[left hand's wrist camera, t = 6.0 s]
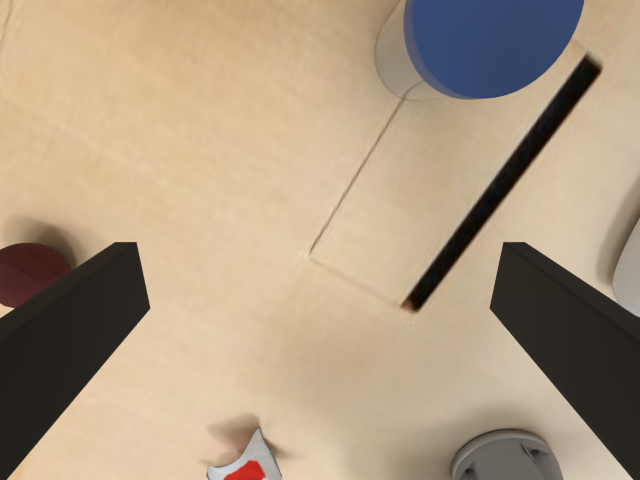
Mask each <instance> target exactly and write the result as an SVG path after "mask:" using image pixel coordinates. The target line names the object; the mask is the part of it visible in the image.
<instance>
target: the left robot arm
mask: <svg viewBox="0 0 640 480" xmlns="http://www.w3.org/2000/svg"><path fill="white" fill-rule="evenodd" d="M149 309H150V304H149V299H148V295H147V290H146V285H145V280H144V276H143V271H142V266H141V261H140V257H139V252H138V247H137V242H115V243H113V244H112V245H110V246H109V247H107V248H106V249H104V250H103V251H101V252H100V253H98V254H97V255H95V256H94V257H92V258H91V259H89V260H87V261H86V262H84V263H83V264H81V265H80V266H78V267H77V268H75V269H74V270H72V271H71V272H69V273H68V274H66V275H65V276H63V277H62V278H60V279H59V280H57V281H56V282H54V283H53V284H51V285H50V286H48V287H47V288H45V289H44V290H42V291H41V292H39V293H38V294H36V295H35V296H33V297H32V298H30V299H29V300H27V301H26V302H24V303H23V304H21V305H20V306H18V307H17V308H15V309H14V310H12V311H11V312H9V313H8V314H6V315H4V316H3V317H1V318H0V480H7V479H8V477H9V476H10V475H11V474H12V473H13V471H14V470H15V469H16V468H17V467H18V465H19V464H20V463H21V462H22V461H23V460H24V458H25V457H26V456H27V455H28V454H29V452H30V451H31V450H32V449H33V448H34V446H35V445H36V444H37V443H38V442H39V440H40V439H41V438H42V437H43V436H44V435H45V433H46V432H47V431H48V430H49V429H50V427H51V426H52V425H53V424H54V423H55V421H56V420H57V419H58V418H59V417H60V415H61V414H62V413H63V412H64V411H65V410H66V408H67V407H68V406H69V405H70V404H71V402H72V401H73V400H74V399H75V398H76V396H77V395H78V394H79V393H80V392H81V390H82V389H83V388H84V387H85V386H86V385H87V383H88V382H89V381H90V380H91V379H92V377H93V376H94V375H95V374H96V373H97V371H98V370H99V369H100V368H101V367H102V365H103V364H104V363H105V362H106V361H107V360H108V358H109V357H110V356H111V355H112V354H113V352H114V351H115V350H116V349H117V348H118V346H119V345H120V344H121V343H122V342H123V340H124V339H125V338H126V337H127V336H128V334H129V333H130V332H131V331H132V330H133V329H134V327H135V326H136V325H137V324H138V323H139V321H140V320H141V319H142V318H143V317H144V315H145V314H146V313H147V312H148V311H149ZM490 309H491V311H492V312H493V313H494V314H495V315H496V317H497V318H498V319H499V320H500V321H501V323H502V324H503V325H504V326H505V327H506V329H507V330H508V331H509V332H510V333H511V334H512V336H513V337H514V338H515V339H516V340H517V342H518V343H519V344H520V345H521V346H522V348H523V349H524V350H525V351H526V352H527V354H528V355H529V356H530V357H531V358H532V360H533V361H534V362H535V363H536V364H537V365H538V367H539V368H540V369H541V370H542V371H543V373H544V374H545V375H546V376H547V377H548V379H549V380H550V381H551V382H552V383H553V385H554V386H555V387H556V388H557V389H558V390H559V392H560V393H561V394H562V395H563V396H564V398H565V399H566V400H567V401H568V402H569V404H570V405H571V406H572V407H573V408H574V410H575V411H576V412H577V413H578V414H579V415H580V417H581V418H582V419H583V420H584V421H585V423H586V424H587V425H588V426H589V427H590V429H591V430H592V431H593V432H594V433H595V435H596V436H597V437H598V438H599V439H600V440H601V442H602V443H603V444H604V445H605V446H606V448H607V449H608V450H609V451H610V452H611V454H612V455H613V456H614V457H615V458H616V460H617V461H618V462H619V463H620V464H621V465H622V467H623V468H624V469H625V470H626V471H627V473H628V474H629V475H630V476H631V477H632V479H633V480H640V317H638V316H636V315H634V314H632V313H631V312H629V311H628V310H626V309H625V308H623V307H622V306H620V305H619V304H617V303H616V302H614V301H613V300H611V299H610V298H608V297H607V296H605V295H604V294H602V293H601V292H599V291H598V290H596V289H595V288H593V287H592V286H590V285H589V284H587V283H586V282H584V281H583V280H581V279H580V278H578V277H577V276H575V275H574V274H572V273H571V272H569V271H568V270H566V269H565V268H563V267H562V266H560V265H559V264H557V263H556V262H554V261H553V260H551V259H549V258H548V257H546V256H545V255H543V254H542V253H540V252H539V251H537V250H536V249H534V248H533V247H531V246H530V245H528V244H527V243H525V242H503V247H502V252H501V257H500V261H499V266H498V271H497V276H496V280H495V285H494V290H493V295H492V299H491V304H490ZM451 476H452V480H564V479H563V476H562V473H561V470H560V467H559V464H558V462H557V460H556V458H555V456H554V454H553V452H552V451H551V449H550V448H549V446H548V445H547V444H546V443H545V442H544V441H543V440H542V439H541V438H539V437H538V436H536V435H534V434H531V433H529V432H525V431H519V430H501V431H495V432H491V433H488V434H485V435H482V436H480V437H477V438H476V439H474V440H472V441H470V442H469V443H468V444H466V445H465V446H464V447H463V448H462V449H461V450H460V451H459V452H458V453H457V455H456V456H455V458H454V460H453V462H452V465H451Z"/></svg>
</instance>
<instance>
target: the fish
mask: <svg viewBox="0 0 640 480" xmlns="http://www.w3.org/2000/svg"><path fill="white" fill-rule="evenodd" d="M206 476H207V477H208V479H209V480H282V475H281V472H280V470H279V467H278V465H277V462H276V460H275V457H274V456H273V454H272V452H271V451H270V449H269V447H268V445H267V444H266V442H265V440H264V439H263V437H262V433H261V431H260V429H259V428H257V430H256V431H255V433H254V434H253V436H252V438H251V440H250V442H249V444H248V446H247V448H246V449H245V451H244V452H243V454H242V455H241V457H240V458H239V459H238V460H237V451H236V461H235V462H233V463H231V464H227V465H224V466H219V467H211V466H208V469H207V475H206Z"/></svg>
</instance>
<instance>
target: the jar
mask: <svg viewBox="0 0 640 480" xmlns="http://www.w3.org/2000/svg"><path fill="white" fill-rule="evenodd" d="M405 4H406V0H401V1H400V3H399V4H398V6H397V7H396V8H395V10H394V11H393V12H392V14H391V15H390V17H389V18H388V19H387V21H386V22H385V24H384V25H383V27H382V29H381V31H380V33H379V36H378V39H377V43H376V48H375V62H376V68H377V72H378V74H379V77H380V79H381V80H382V82H383V84H384V85H385V86H386V88H387V89H388V90H390V91H391V92H392V93H393V94H395V95H396V96H398V97H400V98H403V99H407V100H426V99H435V98H445V97H450V96H447V95H444V94H442V93H440V92H438V91H436V90H435V89H434V88H432V87H431V86H430V85H428V84H427V83H426V82H425V81H424V80H423V79H422V78H421V76H420V75H419V74H418V72H417V71H416V69H415V68H414V66H413V64H412V62H411V60H410V57H409V54H408V52H407V48H406V44H405V38H404V30H403V26H404V10H405Z"/></svg>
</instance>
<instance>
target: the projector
mask: <svg viewBox="0 0 640 480" xmlns="http://www.w3.org/2000/svg"><path fill="white" fill-rule="evenodd" d="M612 287H613V293H614V296H615V299H616V301H617V302H618V304H619V305H620V306H622V307H623V308H625V309H626V310H628V311H629V312H631V313H632V314H634V315H636V316H638V317H640V218H639V220H638V222H637V223H636V225H635V227H634V229H633V231H632V233H631V235H630V237H629V239H628V241H627V243H626V245H625V247H624V249H623V251H622V253H621V256H620V258H619V261H618V263H617V266H616V269H615V273H614V277H613V284H612Z"/></svg>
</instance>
